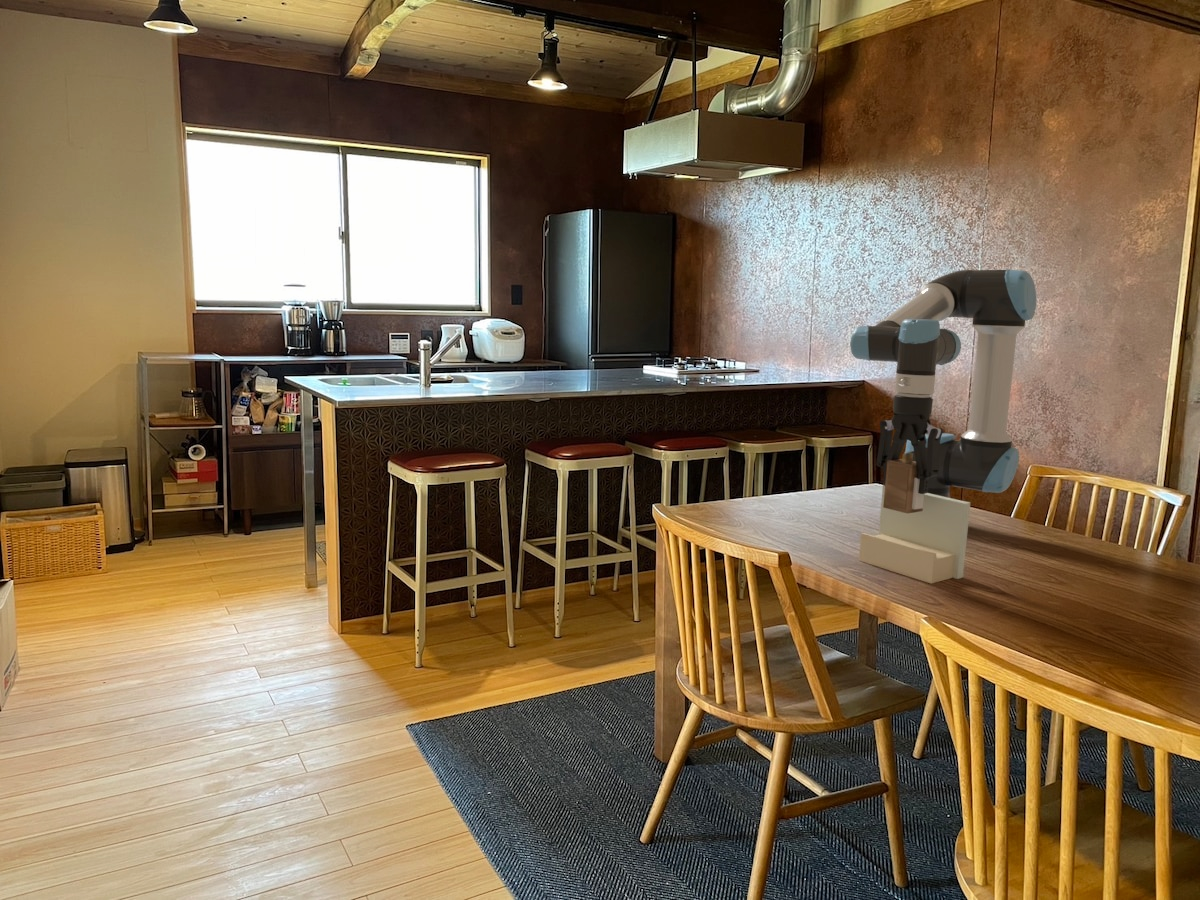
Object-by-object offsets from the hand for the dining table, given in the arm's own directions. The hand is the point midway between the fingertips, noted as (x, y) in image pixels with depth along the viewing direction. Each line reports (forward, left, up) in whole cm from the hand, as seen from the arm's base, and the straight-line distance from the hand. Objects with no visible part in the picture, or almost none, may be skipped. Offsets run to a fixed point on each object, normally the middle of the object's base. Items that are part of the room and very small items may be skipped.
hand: (903, 504), depth 180 cm
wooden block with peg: (0, 0, -1) cm, 1 cm away
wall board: (-4, 0, -14) cm, 15 cm away
